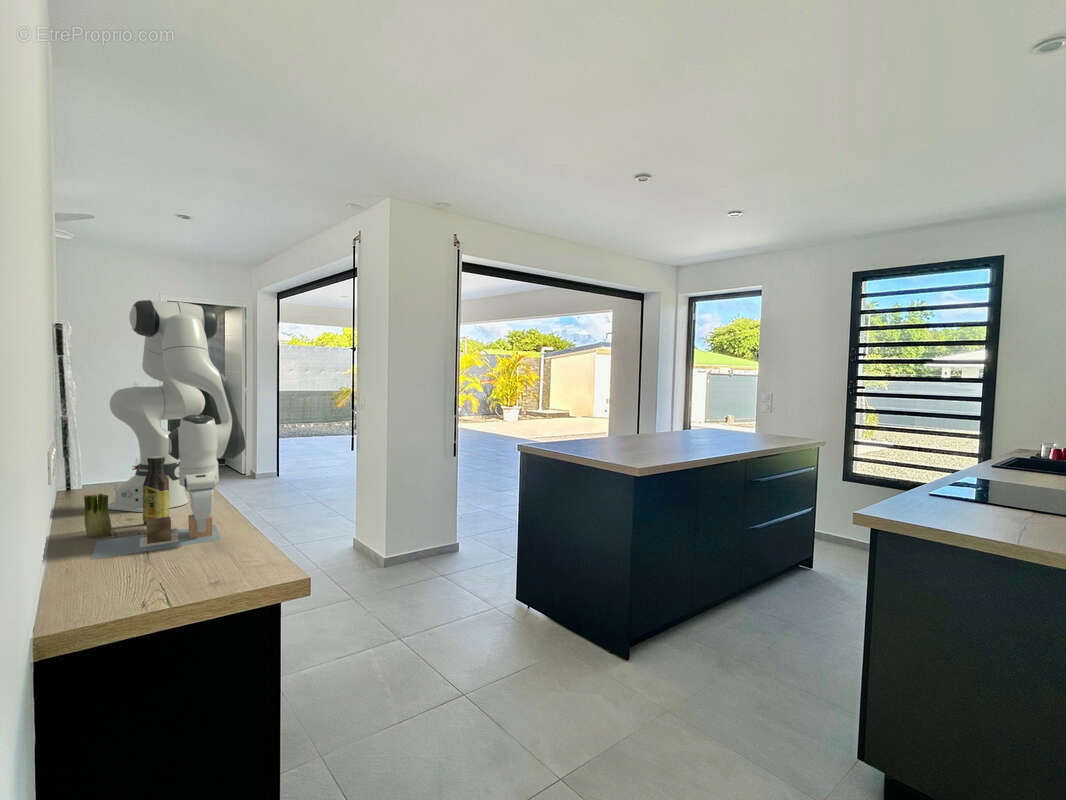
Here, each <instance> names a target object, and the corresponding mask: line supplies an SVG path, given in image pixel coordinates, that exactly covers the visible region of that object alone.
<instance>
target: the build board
mask: <svg viewBox="0 0 1066 800" xmlns="http://www.w3.org/2000/svg"><path fill="white" fill-rule="evenodd" d="M215 541H217V542H218V541H222V538H221V536H220V533H219V531H218V529H217V527H216V525H215V524H214V525H213V524H212V535H211V536H205V537H198V538H191V539H190V537H189V528H184V529H183V528H182V529H176V530H171V541H164V542H157V543H150V544H147V533H146V534H145V533H144V534H139V535H138V534H137V535H130V536H124V537H116V538H108V539H102V540H100V539H99V540H96V542H95V546H94V548H93V551H92V554H91V557H90V560H96V559H105V558H109V557H117V556H124V555H131V554H136V553H143V552H149V551H156V550H161V549H162V550H164V549H170V548H177V547H183V546H190V545H196V544H197V545H198V544H204V543H209V542H215Z"/></svg>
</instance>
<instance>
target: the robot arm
mask: <svg viewBox="0 0 1066 800" xmlns="http://www.w3.org/2000/svg"><path fill="white" fill-rule="evenodd" d="M128 317H129V323H130V325H131V329H132V331H134V332H135V334H137V335H139V336H143V337H145V338H144V345H143V355H142V363H141V365H142V369H143V372H144V373H145V374H146V375H147V376H149V377H150V378H152V379H153V380H154V379H155V380H157V381H159V382H162V384H161V385H159V386H132V387H126V388H121V389H117V390H115V391H114V393H113V394H112V395H111V397H110V400H109V409H110V411H111V414H112V415H113V416H114V417H115V418H116V419H118V420H119V421H121V422H122V423H124V424H125V425H128V427H129V428H131V430H132V431H133V433H134V435H135V437H136V438H137V442H138V447H139V457H140V459H139V460H140V463H138V464H137V465H134V466H132V469H131V470H132V471H135V470H136V471H135V473H134V475H133V476H132V477H130V478H129V479H128V480H127V481H126V482H124V483H123V484H121V485H119V486H118V488H117V489H116V491H115V496H114V501H113V502H109V503H108V510H113V511H114V510H115V511H123V512H136V513H143V484H144V481H145V479H146V476H147V473H148V462H147V459H148V457H150V456H164V457H165V461H164V473H165V475H166V476H167V477H168V479H169V509H171V508H177V507H181V506H184V505H185V504H186V505H187V504H188V503H189V505H190V508H191V511H192V515H194V519H195V520H197V531H198V532H204V531H205V530H206V528H205V525H206V519H208V518H210V517H211V516H212V513H213V504H214V503H213V502H214V491H215V489H214V488H217V485H218V484H217V483H219V480H220V479H219V477H220V476H219V475H220V474H219V473H220V472H219V461H218V459H220V460H221V459H223V460H224V459H226V460H231V459H232V460H233V459H235V458H237V457H238V456H239V455H241V454H243V452H244V450H245V449H246V435H245V432H244V430H243V428H242V425H241V422H240V419H239V417H238V414H237V409H236V406H235V403H234V399H233V395H232V393H231V390H230V386H229V384H228V381H227V378H226V375H225V374H224V371H223V370H220V369H218V368H217V367H216V366H215V365H214V364H213V362H212V359H211V357H210V354H209V344H208V340H209V339H211V338H213V337H214V336H216V334H217V331H218V329H219V319H218V314H217V312H216V311H215V309H214V308H212V307H210V306H208V305H207V306H206V305H204V304H199V305H198V304H195V303H190V302H182V301H167V300H166V301H163V300H161V301H160V300H153V301H152V300H150V299H145V300H137V301H136V302H135V303H134V304H133V305H132V307H131V309H130V312H129V316H128ZM201 390H202V391H203V392H206V393H208V394H209V395H210V396H211V397H212V398H213V400H214V402H215V403H214V404H215V405H216V409H217V413H218V415H219V420H220V422H221V423H219V424H218V423H217V424H216V421H215V418H214V417H212V416H210V415H205V414H202V413H203V411H204V410H205V406H206V399H205V396H204V394H203V393H202V391H201ZM166 420H167V421H168V420H180V421H179V423H180V424H179V426H178V427H175V428H174V429H172V430H171V431H170V430H167V429H163V428H162V427H161V425H160V421H166ZM186 492H187V493H189V500H188V497H187V494H186Z"/></svg>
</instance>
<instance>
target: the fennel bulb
mask: <svg viewBox="0 0 1066 800" xmlns="http://www.w3.org/2000/svg"><path fill="white" fill-rule="evenodd" d="M83 500H84V502H83V503H84V526H85V531H86V532H85V533H86V536H87V538H89V539H100V538H104V537H109V536H111V534H112V522H111V517H110V513H109V509H108V504H109V495H108V494H103V493H98V494H92V495H91V494H87V495H84V496H83Z"/></svg>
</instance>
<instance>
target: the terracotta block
mask: <svg viewBox="0 0 1066 800" xmlns="http://www.w3.org/2000/svg"><path fill="white" fill-rule="evenodd" d="M212 525H213V516H212V515H211V517H210V518H208V519H206V525H205V528H206V530H205V531H204V532H198V531H197V520H195V519H194V515H193V514H189V515H188V529H189V537H190V539H191V538H198V537H205V536H211V535H212Z"/></svg>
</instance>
